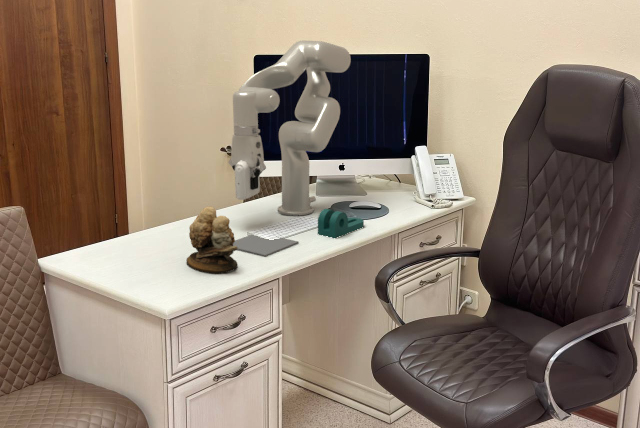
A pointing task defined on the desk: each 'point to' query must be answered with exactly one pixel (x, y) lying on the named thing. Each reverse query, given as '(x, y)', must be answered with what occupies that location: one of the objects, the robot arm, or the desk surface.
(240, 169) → the photo printer
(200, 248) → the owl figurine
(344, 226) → the bracket
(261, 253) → the mat
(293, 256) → the desk surface
